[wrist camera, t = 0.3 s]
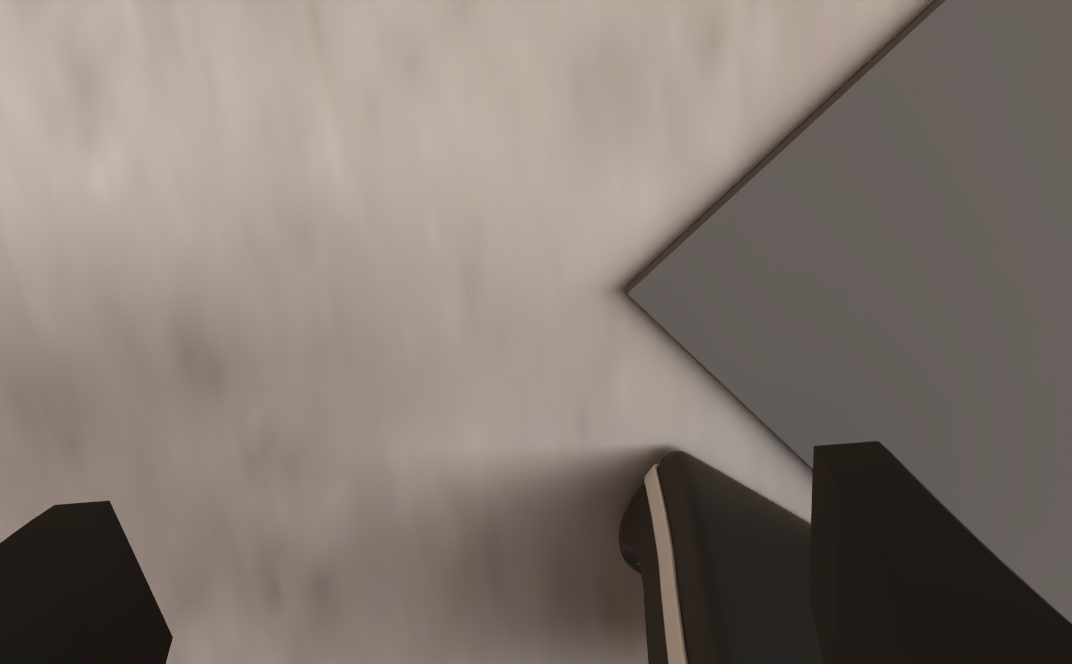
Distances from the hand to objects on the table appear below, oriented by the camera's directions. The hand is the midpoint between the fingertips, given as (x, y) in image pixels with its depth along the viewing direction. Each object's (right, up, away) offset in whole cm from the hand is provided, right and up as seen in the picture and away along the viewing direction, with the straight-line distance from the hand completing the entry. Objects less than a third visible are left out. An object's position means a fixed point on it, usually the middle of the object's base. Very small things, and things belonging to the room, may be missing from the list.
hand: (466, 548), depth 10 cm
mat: (+12, +3, +10) cm, 16 cm away
